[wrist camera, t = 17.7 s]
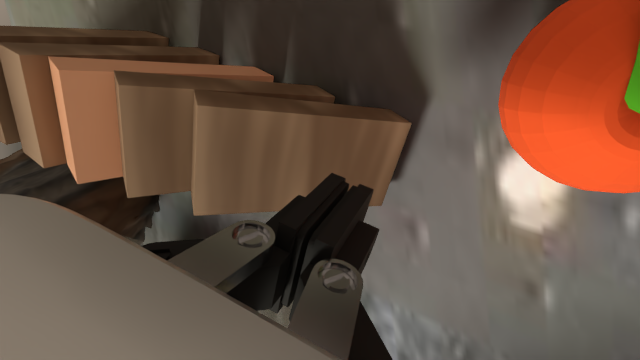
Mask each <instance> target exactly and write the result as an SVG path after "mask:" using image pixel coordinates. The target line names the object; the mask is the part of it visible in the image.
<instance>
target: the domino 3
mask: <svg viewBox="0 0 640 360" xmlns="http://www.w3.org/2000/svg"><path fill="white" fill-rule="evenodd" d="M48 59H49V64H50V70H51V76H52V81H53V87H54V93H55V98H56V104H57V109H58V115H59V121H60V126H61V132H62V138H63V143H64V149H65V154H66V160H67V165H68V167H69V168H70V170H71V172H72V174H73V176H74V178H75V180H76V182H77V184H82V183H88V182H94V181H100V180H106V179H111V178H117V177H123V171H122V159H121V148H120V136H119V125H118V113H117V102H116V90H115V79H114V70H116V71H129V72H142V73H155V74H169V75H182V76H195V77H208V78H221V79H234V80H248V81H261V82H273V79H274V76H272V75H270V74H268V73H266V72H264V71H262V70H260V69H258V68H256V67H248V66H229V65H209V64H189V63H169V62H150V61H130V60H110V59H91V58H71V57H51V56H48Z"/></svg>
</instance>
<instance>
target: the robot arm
mask: <svg viewBox="0 0 640 360" xmlns="http://www.w3.org/2000/svg"><path fill="white" fill-rule="evenodd" d="M348 189H349V183H347V182H346V178H344V177H342V176H339V175H337V174H334V173H331V174H330V175H329V176H328V177H327V178H325V179H324V180H323V181H322V182H321V183H320V184H319V185H318V186H317V187H316V188H315V189H314V190H313V191H311V192H310V193H309V194H308V195H307V196H306V197H304V196H301V195H298V196H296V197H295V198H294V199H293V200H292V201H291V202H289V203H288V204H287V205H286V206H285V207H284V208H283V209H281V210H280V211H279V212H278V213H277V214H276V215H275V216H273V217H272V218H271V219H270V220H269V221H268V222H267V223H266V224H264V223H262V222H259V221H255V220H244V221H239V222H236V223H234V224H232V225H230V226H228V227H227V228H225V229H223V230H221V231H219V232H218V233H216V234H214V235H212V236H210V237H209V238H207V239H198V240H183V241H169V242H156V243H150V244H146V245H143V242H142V241H139V240H135V239H132V238H129V237H125V236H122V235H119V234H118V233H116V232H114V231H112V230H110V229H108V228H106V227H104V226H103V225H101V224H99V223H97V222H95V221H93V220H91V219H89V218H87V217H85V216H83V215H81V214H79V213H77V212H75V211H72V210H70V209H67V208H65V207H62V206H60V205H57V204H55V203H51V202H48V201H44V200H41V199H37V198H32V197H26V196H20V195H12V194H0V360H392V358H391V356H390V354H389V352H388V350H387V349H386V347H385V345H384V343H383V341H382V340H381V338H380V336H379V334H378V332H377V331H376V329H375V327H374V325H373V323H372V321H371V320H370V318H369V316H368V314H367V312H366V311H365V309H364V307H363V305H362V303H361V302H360V299H361V294H362V289H363V279H362V277H361V273H362V271H363V269H364V267H365V265H366V263H367V260H368V258H369V256H370V253H371V251H372V248H373V246H374V243H375V240H376V238H377V235H378V232H379V229H378V228H376V227H373V226H371V225H369V224H366V223H364V222H363V221H364V218H365V215H366V212H367V209H368V206H369V203H370V200H371V197H372V194H373V191H374V189H372V188H369V187H367V186H364V185H362V184H359V185H358V186H357V187H356V186H354V185H353V186H352V187H351V188H350V189H349V190H348ZM293 300H294V301H293ZM292 301H293V305H292V309H291V313H290V317H289V320H290V323H289V325H288V328H286V327H284V326H282V325H280V324H279V323H277V322H275V321H273V320H272V319H270V318H268V317H266V316H264V315H263V314H261V311H262V310H266V309H270V310H271V311H273V312H275V313H278V312H279V310H280V309H281V308H282V306H283V305H284V306H286V307H288V306H289V305H290V304H291V303H292Z"/></svg>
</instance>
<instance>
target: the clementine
mask: <svg viewBox="0 0 640 360" xmlns="http://www.w3.org/2000/svg"><path fill="white" fill-rule="evenodd" d="M498 105H499V112H500V118H501V124H502V128H503V130H504V132H505V134H506V136H507V138H508V140H509V142H510V144H511V146H512V148H513V149H514V150H515V151H516V152H517V153H518V154H519V155H520V156H521V157H522V158H523V159H524V160H525V161H526V162H527V163H528V164H529V165H530V166H531V167H533V168H534V169H535V170H537V171H539V172H540V173H542V174H544V175H545V176H547V177H549V178H551V179H552V180H554V181H556V182H558V183H562V184H565V185H568V186H572V187H575V188H578V189H582V190H589V191H600V192H612V193H631V192H640V0H569V1H568V2H566V3H564V4H562V5H561V6H559V7H557V8H556V9H555V10H554V11H553V12H551V13H550V14H549V15H548V16H547V17H546V18H545V19H543V20H542V21H541V22H540V23H539V24H538V25H537V26H536V27H534V28H533V29H532V30H531V31H530V33H529V34H528V35H527V37H526V38H525V39H524V41H523V42H522V43H521V45H520V46H519V47H518V49H517V50H516V51H515V53H514V54H513V56H512V58H511V60H510V63H509V65H508V67H507V70H506V72H505V74H504V76H503V79H502V83H501V90H500V97H499V104H498Z"/></svg>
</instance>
